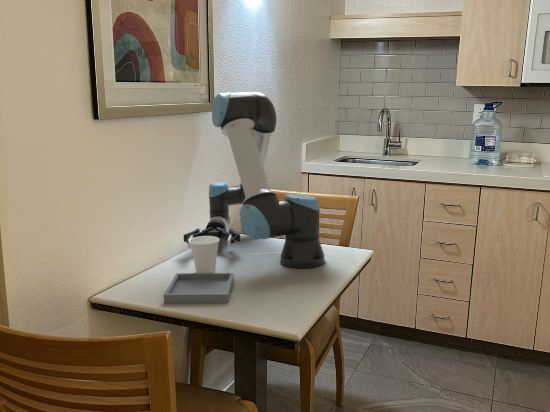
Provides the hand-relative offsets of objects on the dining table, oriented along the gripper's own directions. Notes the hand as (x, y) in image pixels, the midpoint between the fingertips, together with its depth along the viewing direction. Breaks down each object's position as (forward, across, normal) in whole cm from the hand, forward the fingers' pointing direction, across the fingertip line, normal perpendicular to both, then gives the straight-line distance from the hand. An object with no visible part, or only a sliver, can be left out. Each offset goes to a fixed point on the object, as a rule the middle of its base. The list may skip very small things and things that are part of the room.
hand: (208, 244), depth 187 cm
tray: (+27, -1, -6) cm, 28 cm away
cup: (+10, 0, -7) cm, 12 cm away
